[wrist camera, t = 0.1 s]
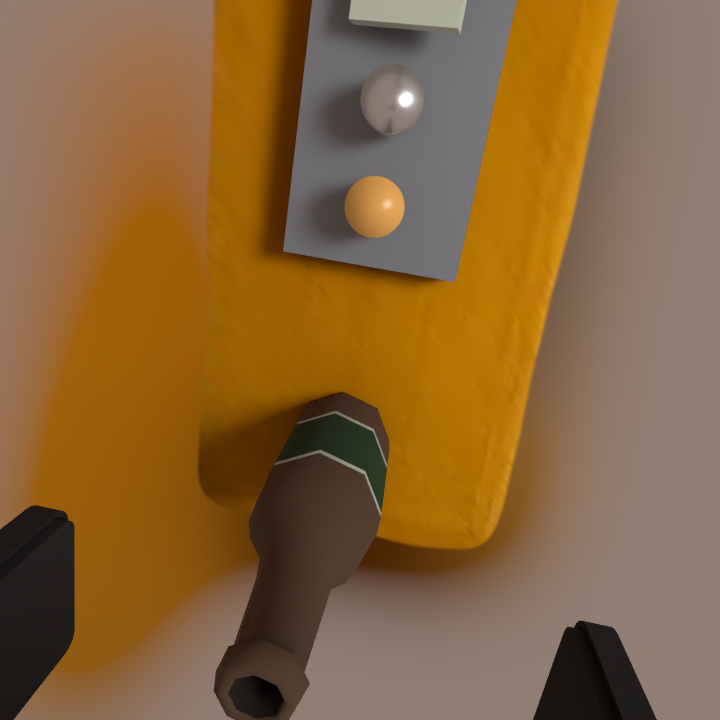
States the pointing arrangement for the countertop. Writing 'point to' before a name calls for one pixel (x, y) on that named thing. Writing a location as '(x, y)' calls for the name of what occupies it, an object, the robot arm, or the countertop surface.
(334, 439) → the beer bottle
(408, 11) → the block
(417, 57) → the panel
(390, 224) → the button orange
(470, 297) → the countertop surface
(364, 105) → the button metal
